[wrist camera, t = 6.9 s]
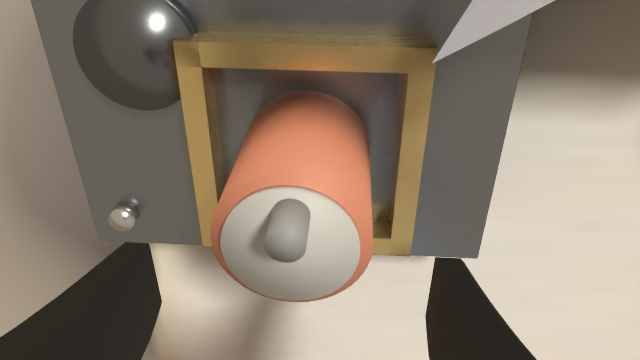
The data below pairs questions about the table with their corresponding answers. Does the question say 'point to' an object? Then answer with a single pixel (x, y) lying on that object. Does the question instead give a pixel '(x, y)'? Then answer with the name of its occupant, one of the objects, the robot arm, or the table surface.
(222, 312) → the table surface
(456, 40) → the ornate book
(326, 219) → the spout can
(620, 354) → the table surface
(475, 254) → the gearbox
